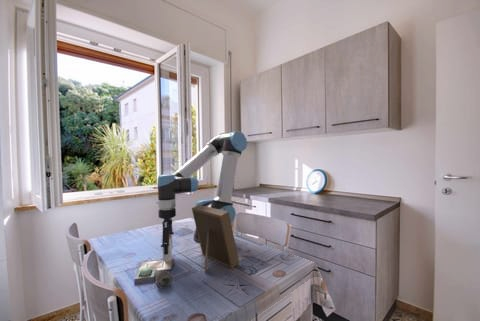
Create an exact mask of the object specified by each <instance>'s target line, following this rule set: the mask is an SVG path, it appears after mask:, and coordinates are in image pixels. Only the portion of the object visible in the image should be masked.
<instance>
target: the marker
mask: <svg viewBox="0 0 480 321" xmlns="http://www.w3.org/2000/svg"><path fill="white" fill-rule="evenodd" d="M172 241H173V236H172V237H171V234H170V235H169V245H170V261H166V262H165V263H172V259H173V249H172ZM164 244H167V243H164Z"/></svg>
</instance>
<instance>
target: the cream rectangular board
mask: <svg viewBox="0 0 480 321" xmlns="http://www.w3.org/2000/svg"><path fill="white" fill-rule="evenodd" d="M173 264H174V259H173V258H172V263H165V262H163V259H162V260H153V261H144V262H141V263H140V265H139V267H138V270H141V269H142V268H145V267H150V268H151V269H154V268H156V271H167V272H171V271H172V270H173ZM138 270H137V271H136V274H137V272H138Z"/></svg>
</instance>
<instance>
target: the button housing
mask: <svg viewBox="0 0 480 321" xmlns="http://www.w3.org/2000/svg"><path fill="white" fill-rule="evenodd" d="M137 271H138V272H137ZM137 271H136V273H137V274H136V275H135V277H134V281H133V282H134V285H138V284H147V283H153V282H155V276H154V275H155V272H156V268H154V269H151V276H143V277H140V270H137Z"/></svg>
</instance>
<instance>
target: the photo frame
mask: <svg viewBox="0 0 480 321" xmlns="http://www.w3.org/2000/svg"><path fill="white" fill-rule="evenodd" d="M191 212H192V215H193V219H194V224H195V229H197V233H198V237H199V242H198V243H199V245H200V249H201V254H202V255H203V256H205V258H204V274H207V271H208V270H207V268H208V260H209V259H212V260H213V261H215V262H217V263H220V264H222V265H223V266H226V267H228V268H230V269H234V268H235V267H237V266H238V264H240V261H239V260H240V259H239V255H238V250H237V246H236V240H235V236H234V231H233V227H232V223H231V220H230V215H229V211H224V210H220V209H215V208H211V207H206V206H202V205H198V206H196V205H195V206H194V207H193V206H192V208H191Z"/></svg>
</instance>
